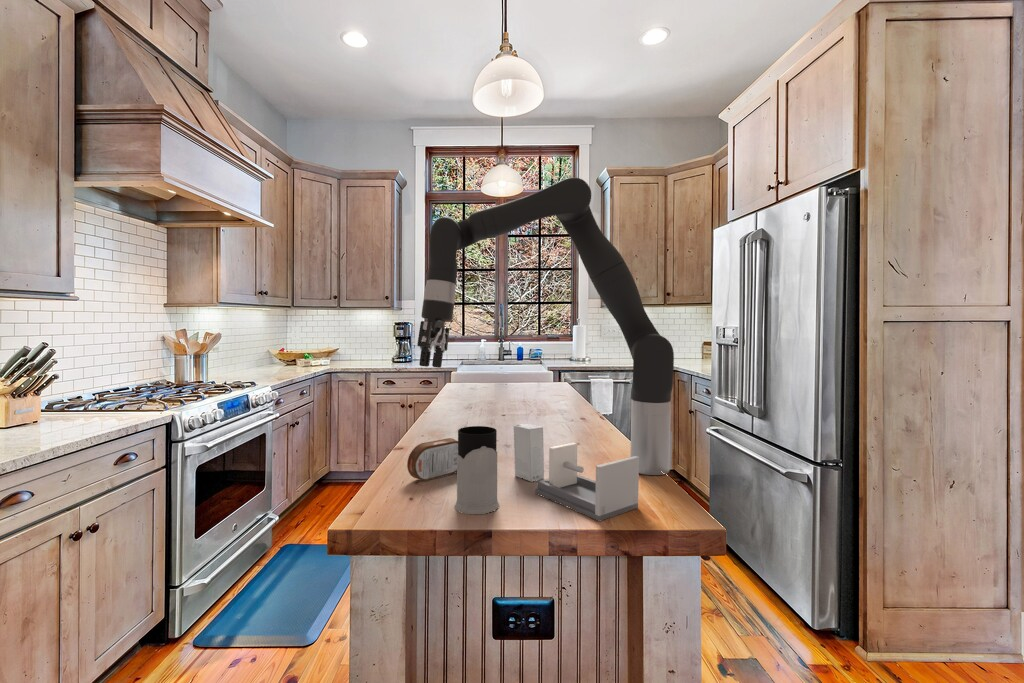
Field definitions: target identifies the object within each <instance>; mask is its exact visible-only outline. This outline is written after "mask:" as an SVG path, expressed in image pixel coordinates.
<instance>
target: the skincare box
mask: <svg viewBox="0 0 1024 683" xmlns="http://www.w3.org/2000/svg"><path fill="white" fill-rule="evenodd" d="M513 447H514V451H513V452H514V476H515V477H517V478H520V479H522V478H523V479H522V480H525V481H528V482H530V483H532V482H533V481H534V482H537V481H540V480H544V479H545V465H544V464H545V463H544V462H545V458H544V455H545V454H544V449H545V448H544V427H543V426H540V425H535V424H532V423H531V424H530V423H527V422H526V423H520V424H515V425H513Z"/></svg>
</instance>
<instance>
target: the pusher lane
mask: <svg viewBox="0 0 1024 683" xmlns="http://www.w3.org/2000/svg"><path fill="white" fill-rule="evenodd" d="M639 474H640V473H639V457H637V456H633V457H630V456H629V457H626V458H621V459H617V460H613V461H609V462H605V463H601V464H597V465H595V480H593V479H590V478H588V477H585V476H582V475H579V474H577V483H575V484H572V485H568V486H564V487H561V488H559V487H556V486H554V485H551V484H549V477H548V478H544V479H542V480H538V481H536V482H537V483H536V488H535V490H534V491H535V493H537V494H536V495H538V494H539V495H538V496H540V495H542V496H544V497H543V498H545V497H546V498H545V499H547V498H548V499H547V500H549V499H551V500H553V501H552V502H554V501H556V502H558V503H561V504H563V505H565V506H568V507H570V508H572V509H574V510H576V511H578V512H577V513H579V512H581V513H583V514H585V515H584V516H586V515H587V516H586V517H588V516H590V517H592V518H594V519H593V520H595V519H597V520H599V521H598V522H601V521H600V520H602V521H604V520H603V519H605V520H607V519H606V518H608V519H610V518H609V517H611V518H613V517H615V516H619V515H623V514H624V513H627V512H630V511H634V510H637V509H638V508H639V481H640V480H639V479H640V478H639V477H640V476H639ZM542 496H541V497H542ZM551 500H550V501H551ZM556 502H555V503H556ZM558 503H557V504H558ZM561 504H560V505H561ZM563 505H562V506H563ZM565 506H564V507H565ZM570 508H569V509H570ZM572 509H571V510H572ZM574 510H573V511H574ZM576 511H575V512H576ZM581 513H580V514H581ZM583 514H582V515H583ZM618 514H619V515H618ZM612 516H613V517H612ZM590 517H589V518H590ZM592 518H591V519H592ZM597 520H596V521H597Z"/></svg>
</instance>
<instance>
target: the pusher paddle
mask: <svg viewBox="0 0 1024 683" xmlns="http://www.w3.org/2000/svg"><path fill="white" fill-rule="evenodd" d="M548 451H549V452H548V459H549V460H548V478H549V484H551V485H554V486H556V487H559V488H561V487H564V486H568V485H572V484H575V483H577V475H578V473H582V474H583V472H584V470H585V468H584V467H583V466H581V465H578V443H576V442H570V443H565V444H560V445H555V446H550V447H549V449H548Z"/></svg>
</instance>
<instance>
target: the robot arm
mask: <svg viewBox="0 0 1024 683" xmlns="http://www.w3.org/2000/svg"><path fill="white" fill-rule="evenodd" d="M591 202H592V190H591V188H590V185H589V184H588V183H587V182H586V181H585V180H584V179H582V178H579V177H575V176H574V177H573V176H572V177H567V178H564V179H563V180H559V181H557V182H556V183H554V184H552V185H549V186H548V187H545V188H544V189H540V190H539V191H536V192H534V193H531V194H529V195H526V196H524V197H520V198H517V199H514V200H511V201H508V202H505V203H502V204H498V205H494V206H491V207H488V208H487V207H486V208H483V209H480V210H477V211H475V212H472V213H471V214H470V215H469V216H468V218H466V219H463V220H460V221H456V220H455V219H453V218H452V217H449V216H442V217H440V218H438V219H436V220H435V221H434V222H433V224H432V226H431V229H430V234H429V266H428V271H427V277H426V285H425V287H424V293H423V302H422V308H421V318H422V319H423V320H421V321H420V324H419V331H418V338H417V347H419V349H420V357H419V363H418V364H419V366H420V367H425V368H427V367H429V366H430V361H431V355H432V349H433V351H434V352H433V356H432V357H433V358H432V364H431V366H432V367H433V368H437V369H438V368H441V367H442V363H443V355H444V353H445V351H448V348H449V346H448V344H449V338H450V336H449V335H450V327H449V326H448V327H447V326H446V323H451V322H452V321H453V316H454V310H455V308H454V307H455V301H456V287H457V286H456V285H457V279H458V276H457V275H458V262H457V255H458V254H457V252H458V251H460V250H464V249H465V248H467V247H469V246H471V245H475V244H476V243H478V242H480V241H483V240H484V241H485V240H488V239H492V238H495V237H497V236H498V237H499V236H502V235H506V234H507V233H510V232H513V231H515V230H517V229H520V228H521V227H524V226H526V225H527V224H530V223H532V222H535V221H537V220H541V219H544V218H545V219H546V218H547V217H553V216H555V217H556V218H557V220H558V221H559V222H560V224H561V225H562V227H563V228H564V229H565V231H566V233H567V234H568V235H569V238H570V239H571V240H572V242H573V244H574V246H575V248H576V250H577V252H578V256H579V258H580V260H581V262H582V265H583V266H584V268H585V270H586V272H587V275H588V278H590V281H591V283H592V284H593V286H594V288H595V290H596V292H597V294H598V297H600V299H601V300H602V303H604V305H605V307H606V308H607V310H608V312H609V313H610V314H611V315H612V318H613V319H614V320H615V321H616V323H617V324H618V327H619V328H620V331H621V334H623V337H624V339H625V342H626V344H627V348H628V349H629V350H628V351H629V353H630V356H631V358H632V360H633V363H632V365H633V366H632V367H633V368H632V384H631V385H632V386H631V397H630V398H631V399H630V400H631V404H630V406H631V408H630V409H631V410H630V451H629V452H630V454H629V455H630V456H629V457H633V456H637V457H639V474H641V475H648V476H663V475H667V474H669V472H670V470H672V458H673V457H672V456H673V455H672V452H673V451H672V450H673V445H672V444H673V431H672V430H671V412H672V411H671V410H672V408H671V404H672V403H671V402H672V401H671V400H672V391H673V388H674V387H673V386H674V365H675V364H674V363H675V354H674V347H673V345H672V343H671V342H670V341H669V340H668V339H667V338H666V337H665V336H662V335H661V334H660V333H659V331H658V330H657V328H656V327H655V325H654V324H653V322H652V321H651V319H650V318H649V315H648V314H647V312H646V310H645V307H644V305H643V301H642V298H641V295H640V292H639V291H640V290H639V289H638V287H637V284H636V281H635V279H634V277H633V275H632V272H631V270H630V268H629V267H628V265H627V263H626V261H625V260H624V258H623V256H622V255H621V253H620V252H619V250H618V249H617V248H616V247H615V245H613V244H612V242H611V241H610V240H609V239H608V238H607V237H606V235H604V233H603V232H602V231H601V229H600V227H599V225H598V223H597V221H596V218H595V217H594V214H593V212H592V209H591V207H590V205H591ZM425 320H427V321H425ZM661 471H662V472H663V473H665V474H663V473H662V472H661Z"/></svg>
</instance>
